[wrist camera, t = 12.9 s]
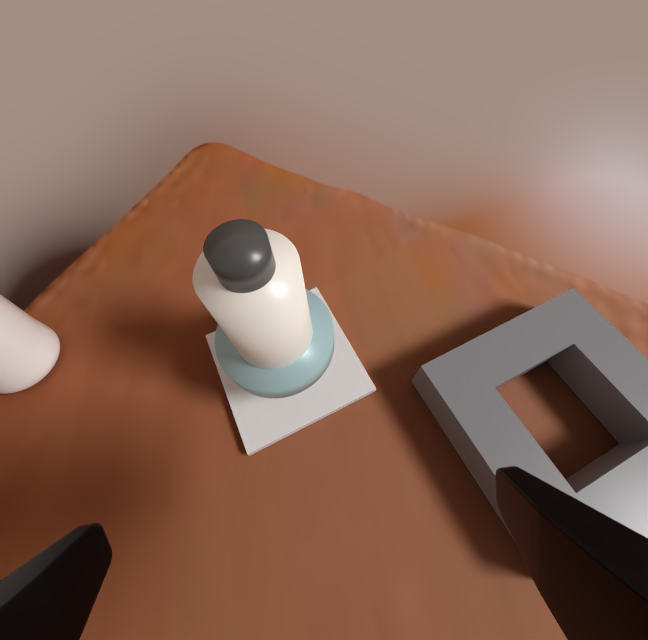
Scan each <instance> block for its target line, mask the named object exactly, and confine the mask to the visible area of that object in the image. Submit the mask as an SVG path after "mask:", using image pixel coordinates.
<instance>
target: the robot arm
mask: <svg viewBox="0 0 648 640" xmlns="http://www.w3.org/2000/svg"><path fill="white" fill-rule="evenodd" d="M495 477H496V501H497V505H498V508H499V511H500V513H501V515H502V517H503V519H504V521H505V523H506V525H507V527H508V529H509V531H510V533H511V535H512V537H513V540H514V542H515V544H516V546H517V548H518V550H519V552H520V554H521V556H522V558H523V560H524V562H525V564H526V566H527V568H528V570H529V573H530V575H531V577H532V579H533V581H534V582H535V584H536V586H537V588H538V590H539V592H540V594H541V595H542V597H543V599H544V601H545V603H546V604H547V606H548V608H549V609H550V611H551V613H552V614H553V616H554V618H555V619H556V621H557V623H558V624H559V626H560V628H561V629H562V631H563V633H564V634H565V636H566V638H567V639H568V640H648V538H646V537H645V536H643V535H641V534H639V533H637V532H635V531H634V530H632V529H630V528H628V527H626V526H625V525H623V524H621V523H619V522H617V521H615V520H614V519H612V518H610V517H608V516H606V515H605V514H603V513H601V512H599V511H597V510H595V509H594V508H592V507H590V506H588V505H586V504H585V503H583V502H581V501H579V500H577V499H575V498H574V497H572V496H570V495H568V494H566V493H565V492H563V491H561V490H559V489H557V488H555V487H554V486H552V485H550V484H548V483H546V482H545V481H543V480H541V479H539V478H537V477H535V476H534V475H532V474H530V473H528V472H526V471H525V470H523V469H521V468H519V467H517V466H509V467H501V468H498V469H497V470H496V474H495ZM111 560H112V549H111V546H110V544H109V541H108V539H107V536H106V534H105V531H104V529H103V527H102V525H100V524H99V523H93V524H85V525H81V526H78V527H77V528H75V529H74V530H72V531H71V532H70V533H68V534H67V535H65V536H64V537H62V538H61V539H60V540H58V541H57V542H55V543H54V544H52V545H51V546H50V547H48V548H47V549H45V550H44V551H42V552H41V553H40V554H38V555H37V556H35V557H34V558H32V559H31V560H30V561H28V562H27V563H25V564H24V565H22V566H21V567H20V568H18V569H17V570H15V571H14V572H12V573H11V574H10V575H8V576H7V577H5V578H4V579H2V580H1V581H0V640H79V639H80V637H81V634H82V632H83V630H84V627H85V625H86V622H87V620H88V617H89V615H90V613H91V610H92V608H93V605H94V603H95V600H96V598H97V595H98V593H99V590H100V588H101V586H102V583H103V581H104V578H105V576H106V573H107V571H108V568H109V566H110V563H111Z"/></svg>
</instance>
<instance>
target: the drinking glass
mask: <svg viewBox="0 0 648 640" xmlns="http://www.w3.org/2000/svg"><path fill="white" fill-rule="evenodd" d="M59 353H60V341H59V338H58V336H57V334H56V333H55V332H54V331H53V330H52V329H51V328H50V327H48V326H46V325H45V324H43V323H41V322H40V321H38V320H36V319H35V318H33V317H31V316H30V315H28V314H27V313H26V312H24V311H23V310H21V309H20V308H18V307H17V306H16V305H14V304H13V303H11V302H10V301H9V300H7V299H6V298H4V297H3V296H2V295H0V394H10V393H16V392H20V391H23V390H25V389H27V388H30V387H31V386H33V385H35V384H36V383H38V382H39V381H41V380H42V379H43V378H44V377H45V376H46V375H47V374H48V373H49V372H50V371H51V370H52V368H53V367H54V365H55V363H56V362H57V359H58V357H59Z"/></svg>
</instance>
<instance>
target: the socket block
mask: <svg viewBox="0 0 648 640" xmlns="http://www.w3.org/2000/svg"><path fill="white" fill-rule="evenodd" d="M546 361H547V363H548V364H549V365H550V366H551V367H552V368H553V369H554V371H555V372H556V373H557V374H558V375H559V376H560V377H561V378H562V380H563V381H564V382H565V383H566V384H567V385H568V386H569V388H570V389H571V390H572V391H573V392H574V393H575V394H576V395H577V397H578V398H579V399H580V400H581V401H582V402H583V403H584V405H585V406H586V407H587V408H588V409H589V410H590V411H591V412H592V414H593V415H594V416H595V417H596V418H597V419H598V420H599V422H600V423H601V424H602V425H603V426H604V427H605V428H606V429H607V431H608V432H609V433H610V434H611V435H612V436H613V437H614V439H615V440H616V441H617V442H618V443H619V445H617V446H616V447H614V448H613V449H611V450H609V451H608V452H606V453H605V454H603V455H602V456H600V457H599V458H597V459H596V460H594V461H592V462H591V463H589V464H588V465H586V466H585V467H583V468H582V469H580V470H579V471H577V472H575V473H574V474H572V475H571V476H569V477H568V478H566V479H565V478H564V477H563V476H562V474H561V473H560V472H559V470H558V469H557V468H556V466H555V465H554V464H553V462H552V461H551V460H550V459H549V457H548V456H547V455H546V453H545V452H544V451H543V449H542V448H541V447H540V446H539V444H538V443H537V442H536V440H535V439H534V438H533V436H532V435H531V434H530V433H529V431H528V430H527V429H526V427H525V426H524V425H523V423H522V422H521V421H520V420H519V418H518V417H517V416H516V414H515V413H514V412H513V410H512V409H511V408H510V407H509V405H508V404H507V403H506V401H505V400H504V399H503V397H502V396H501V395H500V394H499V392H498V391H497V390H496V389H497V388H499V387H501V386H503V385H505V384H507V383H508V382H510V381H512V380H514V379H516V378H517V377H519V376H521V375H523V374H525V373H526V372H528V371H530V370H532V369H534V368H535V367H537V366H539V365H541V364H543V363H544V362H546ZM411 382H412V383H413V385H414V387H415V388H416V390H417V391H418V393H419V394H420V396H421V397H422V399H423V400H424V402H425V404H426V405H427V407H428V408H429V410H430V411H431V413H432V414H433V416H434V418H435V419H436V421H437V422H438V424H439V425H440V427H441V428H442V430H443V431H444V433H445V435H446V436H447V438H448V439H449V441H450V442H451V444H452V445H453V447H454V448H455V450H456V452H457V453H458V455H459V456H460V458H461V459H462V461H463V462H464V464H465V465H466V467H467V469H468V470H469V472H470V473H471V475H472V476H473V478H474V479H475V481H476V482H477V484H478V486H479V487H480V489H481V490H482V492H483V493H484V495H485V496H486V498H487V499H488V501H489V503H490V504H491V506H492V507H493V509H494V510H495V512H496V513H497V515H498V516H499V518H500V520H501V521H502V523H503V524H504V526H505V527H506V529H507V530H508V532H509V534H510V535H511V533H510V531H509V529H508V527H507V525H506V523H505V521H504V519H503V517H502V515H501V513H500V511H499V508H498V505H497V501H496V477H495V474H496V470H497V469H498V468H501V467H509V466H517V467H519V468H521V469H523V470H525V471H526V472H528V473H530V474H532V475H534V476H535V477H537V478H539V479H541V480H543V481H545V482H546V483H548V484H550V485H552V486H554V487H555V488H557V489H559V490H561V491H563V492H565V493H566V494H568V495H570V496H572V497H574V498H575V499H577V500H579V501H581V502H583V503H585V504H586V505H588V506H590V507H592V508H594V509H595V510H597V511H599V512H601V513H603V514H605V515H606V516H608V517H610V518H612V519H614V520H615V521H617V522H619V523H621V524H623V525H625V526H626V527H628V528H630V529H632V530H634V531H635V532H637V533H639V534H641V535H643V536H645V537H646V538H648V359H647V358H646V357H645V356H644V355H643V354H642V353H641V352H640V351H639V350H638V349H637V348H636V347H635V346H634V345H633V344H632V343H631V342H630V341H629V340H627V339H626V338H625V337H624V336H623V335H622V334H621V333H620V332H619V331H618V330H617V329H616V328H615V327H614V326H613V325H612V324H611V323H610V322H609V321H608V320H607V319H605V318H604V317H603V316H602V315H601V314H600V313H599V312H598V311H597V310H596V309H595V308H594V307H593V306H592V305H591V304H590V303H589V302H588V301H587V300H586V299H585V298H583V297H582V296H581V295H580V294H579V293H578V292H577V291H576V290H575V289H574V288H572V289H570V290H568V291H566V292H564V293H562V294H560V295H558V296H556V297H554V298H552V299H551V300H549V301H547V302H545V303H543V304H541V305H539V306H537V307H535V308H533V309H531V310H529V311H527V312H525V313H523V314H521V315H519V316H517V317H515V318H513V319H511V320H510V321H508V322H506V323H504V324H502V325H500V326H498V327H496V328H494V329H492V330H490V331H488V332H486V333H484V334H482V335H480V336H478V337H476V338H474V339H472V340H470V341H469V342H467V343H465V344H463V345H461V346H459V347H457V348H455V349H453V350H451V351H449V352H447V353H445V354H443V355H441V356H439V357H437V358H435V359H433V360H431V361H429V362H428V363H426V364H424V365H422V366H421V367H420V368H419V370H418V371H417V373H416V374H415V376H414V377H413V379H412V381H411ZM511 537H512V535H511ZM512 538H513V537H512Z"/></svg>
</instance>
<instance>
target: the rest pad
mask: <svg viewBox="0 0 648 640" xmlns="http://www.w3.org/2000/svg"><path fill="white" fill-rule="evenodd" d="M309 291H311V292H312V293H314V294H315V295H316V296H318V297H319V298H320V299H321V300H322V301H323V303H324V304H325V305H326V307H327V308H328V310H329V312H330V314H331V317H332V321H333V326H334V352H333V356H332V359H331V362H330V364H329V366H328V368H327V369H326V371H325V373H324V374H323V375H322V376H321V378H320V379H319V380H318V381H317V382H316V383H314V384H313V385H312V386H310V387H309V388H308V389H306V390H304V391H302V392H300V393H298V394H296V395H293V396H289V397H285V398H271V399H270V398H262V397H259V396H255V395H253V394H250V393H248V392H246V391H245V390H243V389H242V388H240V387H239V386H238V385H237V384H236V383H235V382H234V381H233V380H232V379H231V378H230V377H229V376H228V375H227V374H226V373H225V371H224V370H223V369H222V367H221V365H220V363H219V361H218V359H217V356H216V352H215V334H216V331H214V332H212V333H210V334H207V335H205V336H206V339H207V342H208V344H209V347H210V350H211V353H212V356H213V359H214V361H215V364H216V367H217V370H218V373H219V375H220V378H221V381H222V384H223V387H224V390H225V392H226V395H227V398H228V401H229V404H230V407H231V409H232V412H233V415H234V418H235V421H236V423H237V426H238V429H239V432H240V435H241V438H242V440H243V443H244V446H245V449H246V452H247V455H252V454H254V453H256V452H258V451H260V450H262V449H264V448H266V447H268V446H270V445H272V444H274V443H275V442H277V441H279V440H281V439H283V438H285V437H287V436H289V435H291V434H293V433H295V432H297V431H299V430H301V429H303V428H305V427H307V426H309V425H311V424H312V423H314V422H316V421H318V420H320V419H322V418H324V417H326V416H328V415H330V414H332V413H334V412H336V411H338V410H340V409H342V408H344V407H346V406H348V405H349V404H351V403H353V402H355V401H357V400H359V399H361V398H363V397H365V396H367V395H369V394H371V393H373V392H375V391H376V387H375V386H374V384H373V382H372V381H371V379H370V377H369V375H368V374H367V372H366V370H365V369H364V367H363V365H362V363H361V362H360V360H359V358H358V357H357V355H356V353H355V352H354V350H353V348H352V346H351V345H350V343H349V341H348V340H347V338H346V336H345V334H344V333H343V331H342V329H341V328H340V326H339V324H338V323H337V321H336V319H335V317H334V316H333V314H332V312H331V311H330V309H329V307H328V305H327V304H326V302H325V300H324V299H323V297H322V295H321V294H320V292H319V290H318V288H317V287H316V288H314V289H311V290H309Z"/></svg>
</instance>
